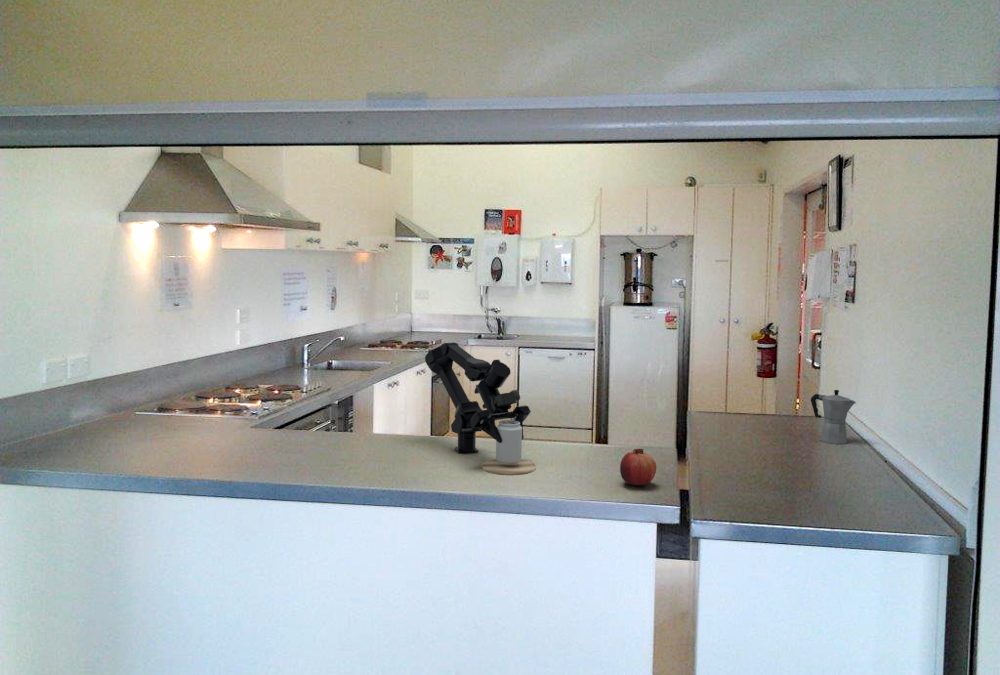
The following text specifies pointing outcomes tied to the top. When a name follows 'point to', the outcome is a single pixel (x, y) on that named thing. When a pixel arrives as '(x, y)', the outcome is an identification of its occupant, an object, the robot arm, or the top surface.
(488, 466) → the trivet
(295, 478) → the top surface
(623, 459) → the fruit
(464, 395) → the robot arm
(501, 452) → the can
